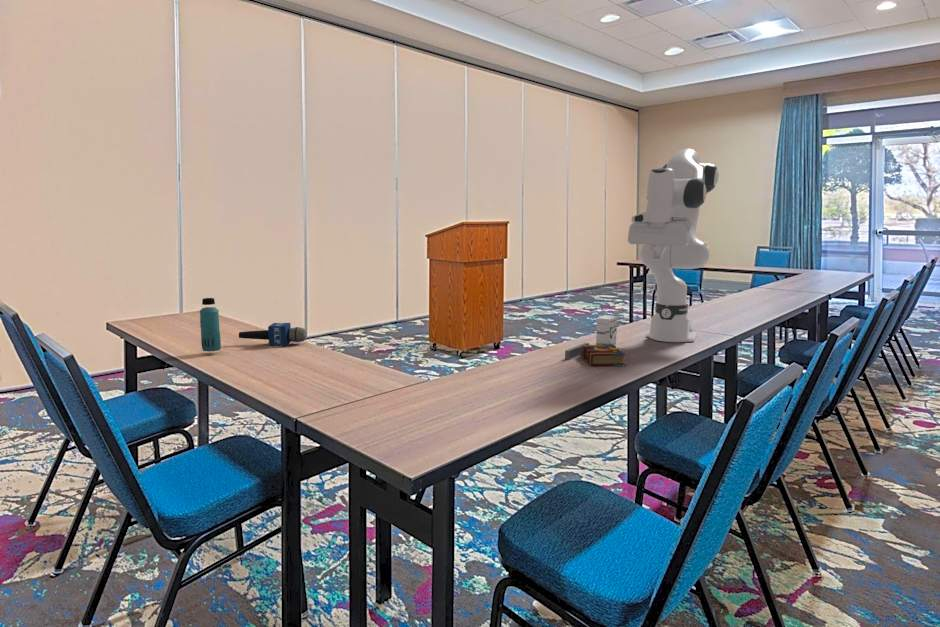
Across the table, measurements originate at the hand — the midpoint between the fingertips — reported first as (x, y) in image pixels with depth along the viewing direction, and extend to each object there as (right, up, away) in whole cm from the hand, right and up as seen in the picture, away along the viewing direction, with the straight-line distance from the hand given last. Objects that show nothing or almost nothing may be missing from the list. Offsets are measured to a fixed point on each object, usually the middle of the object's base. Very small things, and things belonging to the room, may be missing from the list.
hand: (657, 258), depth 212 cm
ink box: (-13, -32, +19) cm, 39 cm away
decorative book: (-19, -35, 0) cm, 40 cm away
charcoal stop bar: (-26, -33, +8) cm, 43 cm away
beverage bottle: (-155, -33, +11) cm, 159 cm away
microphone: (-138, -31, +27) cm, 144 cm away
